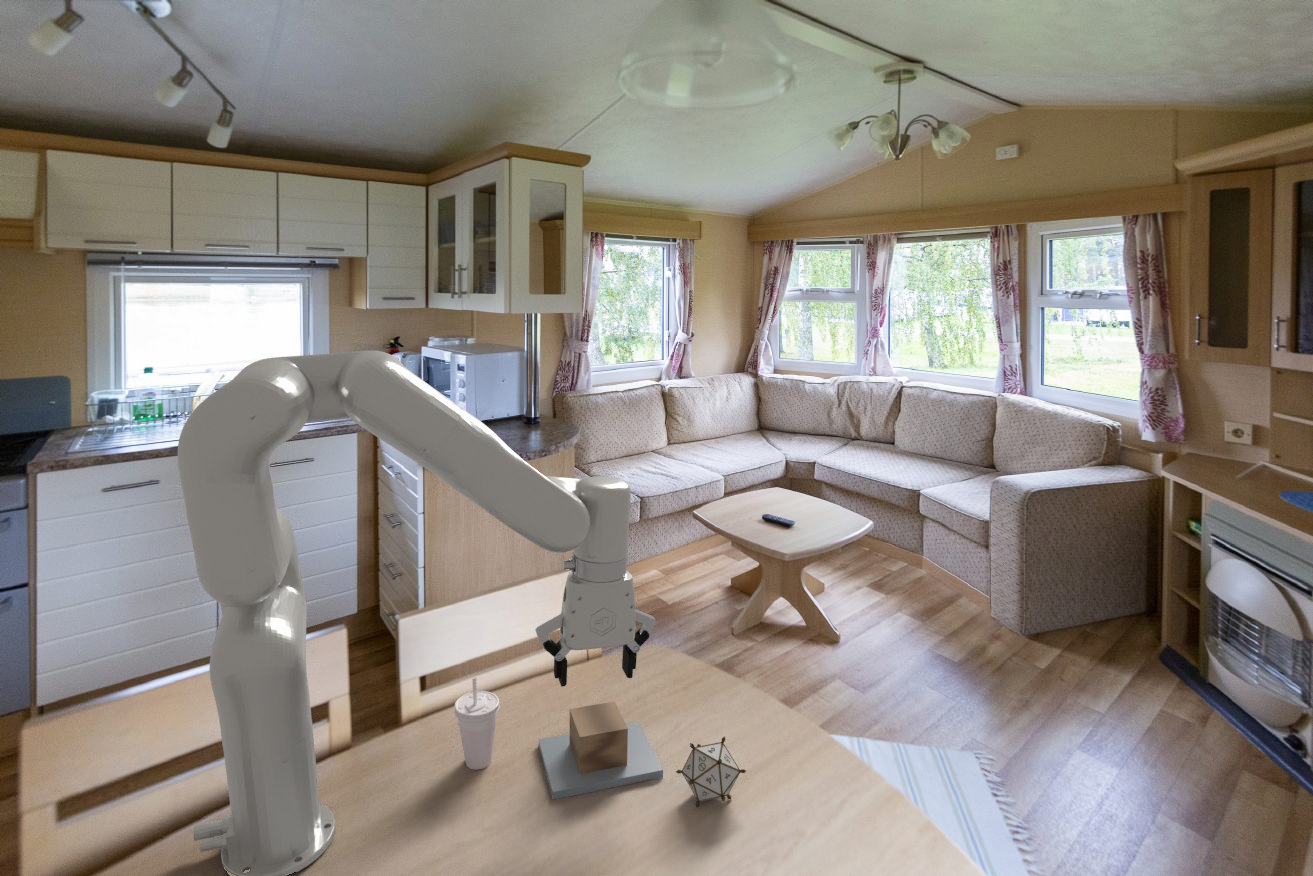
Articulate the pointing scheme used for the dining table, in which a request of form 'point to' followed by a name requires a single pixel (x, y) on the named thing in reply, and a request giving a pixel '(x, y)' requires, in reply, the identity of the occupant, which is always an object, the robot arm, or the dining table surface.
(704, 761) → the game die
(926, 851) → the dining table surface
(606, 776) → the plate
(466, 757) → the smoothie
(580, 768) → the walnut block
